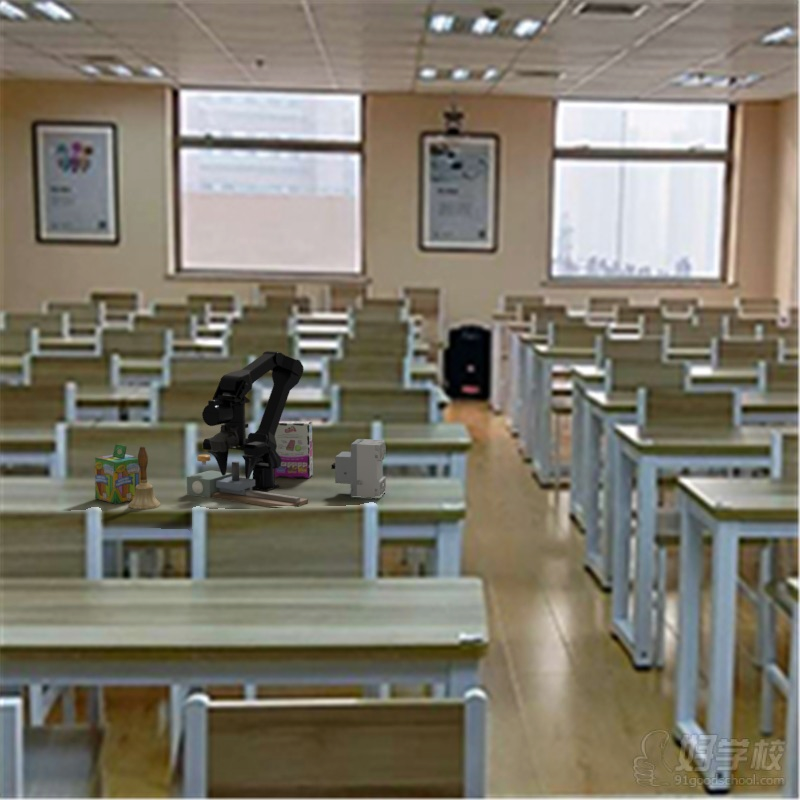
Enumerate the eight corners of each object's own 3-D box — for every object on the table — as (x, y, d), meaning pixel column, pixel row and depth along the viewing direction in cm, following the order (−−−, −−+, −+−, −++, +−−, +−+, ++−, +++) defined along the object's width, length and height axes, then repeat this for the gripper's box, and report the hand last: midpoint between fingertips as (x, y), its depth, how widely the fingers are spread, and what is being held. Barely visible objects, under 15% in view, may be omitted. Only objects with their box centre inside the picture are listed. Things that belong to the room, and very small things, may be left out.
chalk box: (94, 499, 317) (92, 445, 315) (122, 493, 324) (120, 441, 322) (115, 504, 311) (113, 450, 309) (143, 498, 318) (142, 445, 316)
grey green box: (210, 487, 332) (210, 470, 331) (232, 490, 328) (232, 473, 328) (186, 494, 323) (185, 476, 323) (208, 498, 319) (208, 480, 319)
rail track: (231, 491, 328) (231, 483, 327) (308, 502, 315) (308, 494, 315) (210, 497, 320) (210, 489, 320) (288, 509, 307) (288, 501, 307)
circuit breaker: (336, 490, 330) (336, 437, 328) (385, 492, 327) (385, 440, 325) (329, 496, 323) (329, 442, 321) (379, 498, 320) (379, 445, 318)
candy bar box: (313, 475, 350) (313, 421, 347) (309, 478, 345) (309, 423, 343) (276, 473, 351) (276, 419, 349) (272, 477, 346) (272, 422, 344)
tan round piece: (203, 462, 328) (202, 454, 328) (213, 463, 326) (213, 455, 326) (194, 464, 325) (194, 456, 325) (204, 466, 323) (204, 457, 323)
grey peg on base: (232, 487, 326) (231, 458, 325) (255, 491, 322) (255, 461, 321) (216, 492, 320) (215, 462, 319) (239, 496, 316) (239, 466, 315)
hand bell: (152, 510, 306) (151, 450, 303) (123, 508, 307) (121, 448, 305) (165, 502, 314) (164, 444, 311) (136, 501, 315) (135, 443, 313)
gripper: (188, 421, 316) (189, 478, 318) (243, 428, 307) (244, 486, 309) (215, 416, 326) (216, 471, 328) (269, 422, 316) (269, 478, 319)
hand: (235, 476), depth 321 cm, fingers open, 8 cm apart
